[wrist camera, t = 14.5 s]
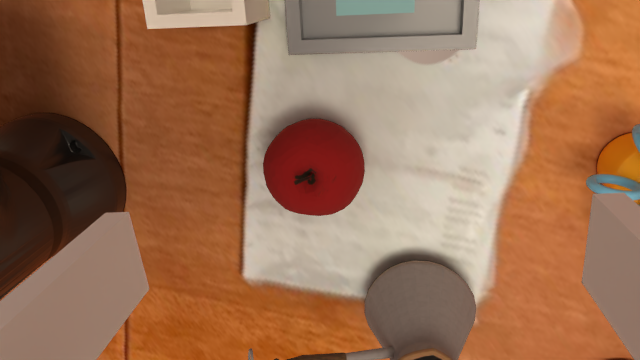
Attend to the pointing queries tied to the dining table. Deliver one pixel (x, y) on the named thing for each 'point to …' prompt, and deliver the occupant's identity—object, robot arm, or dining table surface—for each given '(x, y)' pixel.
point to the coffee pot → (414, 315)
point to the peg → (373, 7)
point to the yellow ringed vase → (619, 167)
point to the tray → (381, 28)
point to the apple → (314, 167)
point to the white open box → (203, 13)
